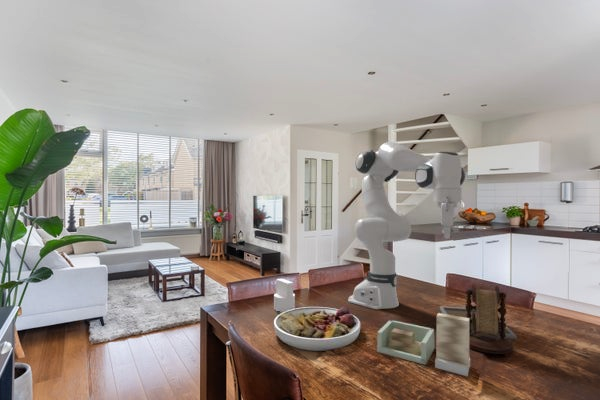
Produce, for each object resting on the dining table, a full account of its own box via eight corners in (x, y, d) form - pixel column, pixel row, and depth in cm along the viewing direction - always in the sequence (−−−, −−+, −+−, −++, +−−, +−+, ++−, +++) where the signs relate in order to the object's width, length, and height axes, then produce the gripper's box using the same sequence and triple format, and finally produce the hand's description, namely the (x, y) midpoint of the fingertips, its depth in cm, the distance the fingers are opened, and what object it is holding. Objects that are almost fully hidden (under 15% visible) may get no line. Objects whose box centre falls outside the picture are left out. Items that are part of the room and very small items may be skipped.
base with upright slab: (269, 308, 141) (270, 280, 141) (286, 304, 146) (287, 277, 146) (281, 313, 134) (281, 284, 134) (299, 309, 139) (299, 281, 139)
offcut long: (389, 348, 100) (389, 339, 100) (392, 345, 103) (392, 335, 103) (419, 356, 96) (419, 346, 96) (422, 352, 98) (422, 342, 98)
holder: (435, 371, 89) (435, 359, 89) (439, 361, 94) (439, 350, 94) (467, 380, 85) (467, 367, 85) (470, 369, 90) (470, 358, 90)
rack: (377, 355, 99) (377, 332, 98) (389, 340, 109) (389, 319, 109) (425, 368, 91) (425, 343, 91) (434, 351, 101) (434, 329, 101)
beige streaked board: (436, 365, 91) (436, 315, 91) (437, 361, 93) (438, 312, 93) (468, 373, 87) (468, 321, 87) (469, 369, 89) (469, 318, 89)
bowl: (304, 365, 93) (304, 337, 93) (259, 329, 118) (259, 307, 118) (379, 341, 109) (379, 317, 109) (325, 314, 134) (325, 295, 134)
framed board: (456, 330, 114) (438, 304, 143) (456, 335, 114) (438, 307, 144) (517, 335, 110) (485, 307, 140) (517, 340, 110) (485, 310, 140)
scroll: (462, 354, 99) (462, 288, 99) (457, 335, 113) (457, 277, 113) (518, 362, 94) (519, 293, 94) (506, 341, 108) (506, 281, 108)
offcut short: (391, 339, 100) (391, 331, 100) (394, 336, 103) (394, 328, 103) (411, 344, 97) (411, 335, 97) (413, 340, 99) (413, 332, 99)
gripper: (458, 197, 103) (457, 241, 103) (456, 197, 121) (456, 234, 121) (436, 197, 105) (436, 239, 105) (438, 197, 124) (438, 233, 124)
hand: (447, 237), depth 113 cm, fingers open, 8 cm apart
